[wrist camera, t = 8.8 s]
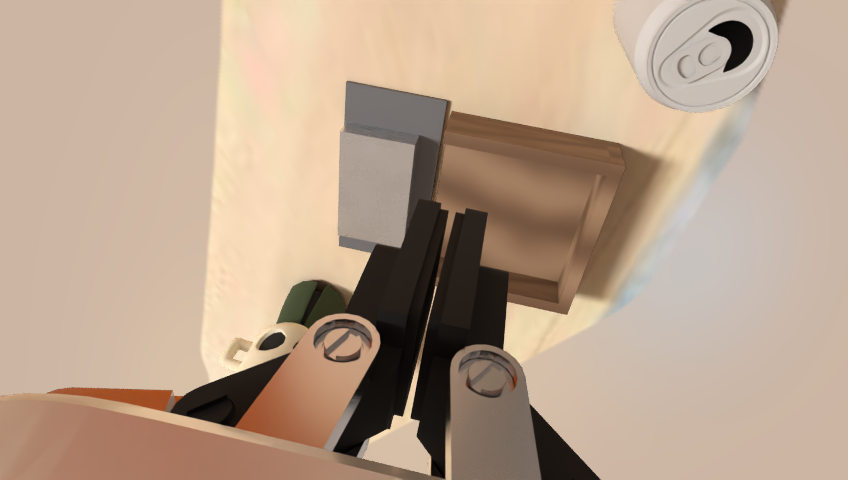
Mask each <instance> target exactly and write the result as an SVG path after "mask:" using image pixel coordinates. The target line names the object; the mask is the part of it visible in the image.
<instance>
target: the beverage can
mask: <svg viewBox="0 0 848 480" xmlns="http://www.w3.org/2000/svg"><path fill="white" fill-rule="evenodd" d="M613 23H614V28H615V32H616V34H617V37H618V39H619V41H620V43H621V45H622V47H623V49H624V51H625V53H626V55H627V57H628V60H629V62H630V64H631V66H632V68H633V70H634V72H635V74H636V76H637V78H638V80H639V82H640V84H641V86H642V88H643V89H644V90H645V92H646V93H647V94H648V95H649V96H650V97H651V98H652V99H654V100H655V101H657V102H658V103H660V104H662V105H664V106H666V107H669V108H672V109H677V110H681V111H686V112H708V111H713V110H717V109H721V108H723V107H726V106H729V105H731V104H733V103H735V102H736V101H738V100H740V99H741V98H743V97H744V96H746V95H747V94H748V93H749V92H751V91H752V90H753V89H754V88H755V87H756V86H757V85H758V84H759V83H760V82H761V80H762V79H763V78H764V77H765V75H766V74H767V72H768V70H769V69H770V67H771V65H772V62H773V60H774V57H775V54H776V50H777V47H778V23H777V17H776V13H775V10H774V7H773V5H772V3H771V1H770V0H616V1H615V4H614V10H613Z"/></svg>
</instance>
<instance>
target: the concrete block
mask: <svg viewBox="0 0 848 480" xmlns="http://www.w3.org/2000/svg"><path fill="white" fill-rule="evenodd" d="M419 136H420V135H418V134H412V133H407V132H401V131H396V130H390V129H385V128H379V127H374V126H368V125H363V124H357V123H352V122H347V123H346V125H345V126H344V127H343V128H342V130H341V131H340V161H339V207H338V235H340V236H345V237H350V238H355V239H360V240H365V241H370V242H375V243H380V244H385V245H390V246H395V247H400V248H401V246H402V243H403V240H404V238H405V235H406V232H407V230H408V227H409V222H410V213H411V205H412V196H413V188H414V179H415V171H416V162H417V153H418V145H419Z"/></svg>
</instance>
